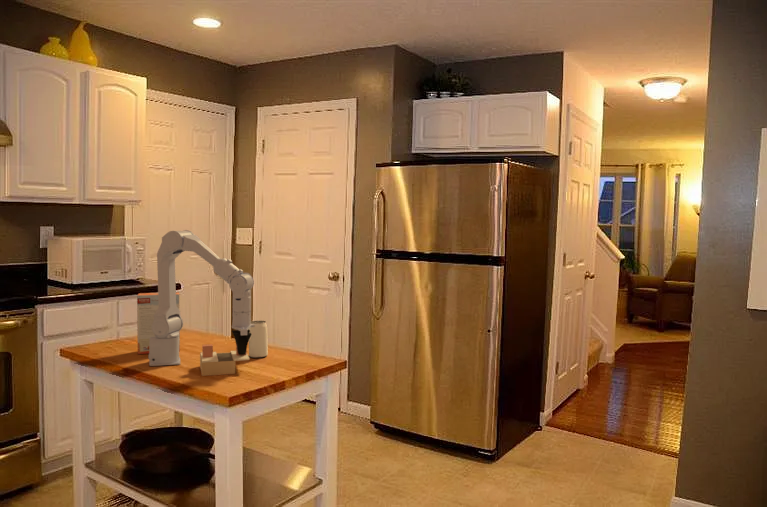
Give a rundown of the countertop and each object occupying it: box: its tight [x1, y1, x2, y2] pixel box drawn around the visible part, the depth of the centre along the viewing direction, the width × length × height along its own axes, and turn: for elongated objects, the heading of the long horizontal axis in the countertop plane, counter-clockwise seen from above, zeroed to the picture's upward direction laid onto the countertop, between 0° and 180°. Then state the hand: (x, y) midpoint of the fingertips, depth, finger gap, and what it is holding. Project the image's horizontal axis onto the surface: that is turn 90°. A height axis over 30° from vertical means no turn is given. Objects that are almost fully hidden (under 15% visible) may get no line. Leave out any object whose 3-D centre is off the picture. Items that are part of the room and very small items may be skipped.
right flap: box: [230, 342, 251, 362], centre depth 195 cm, size 5×12×4 cm, turn 19°
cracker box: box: [136, 291, 181, 355], centre depth 215 cm, size 14×6×21 cm, turn 108°
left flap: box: [200, 344, 218, 363], centre depth 192 cm, size 5×12×4 cm, turn 19°
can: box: [248, 320, 269, 359], centre depth 212 cm, size 6×6×12 cm
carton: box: [199, 352, 236, 377], centre depth 193 cm, size 10×12×4 cm
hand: (241, 353), depth 195 cm, fingers closed on right flap, 2 cm apart
